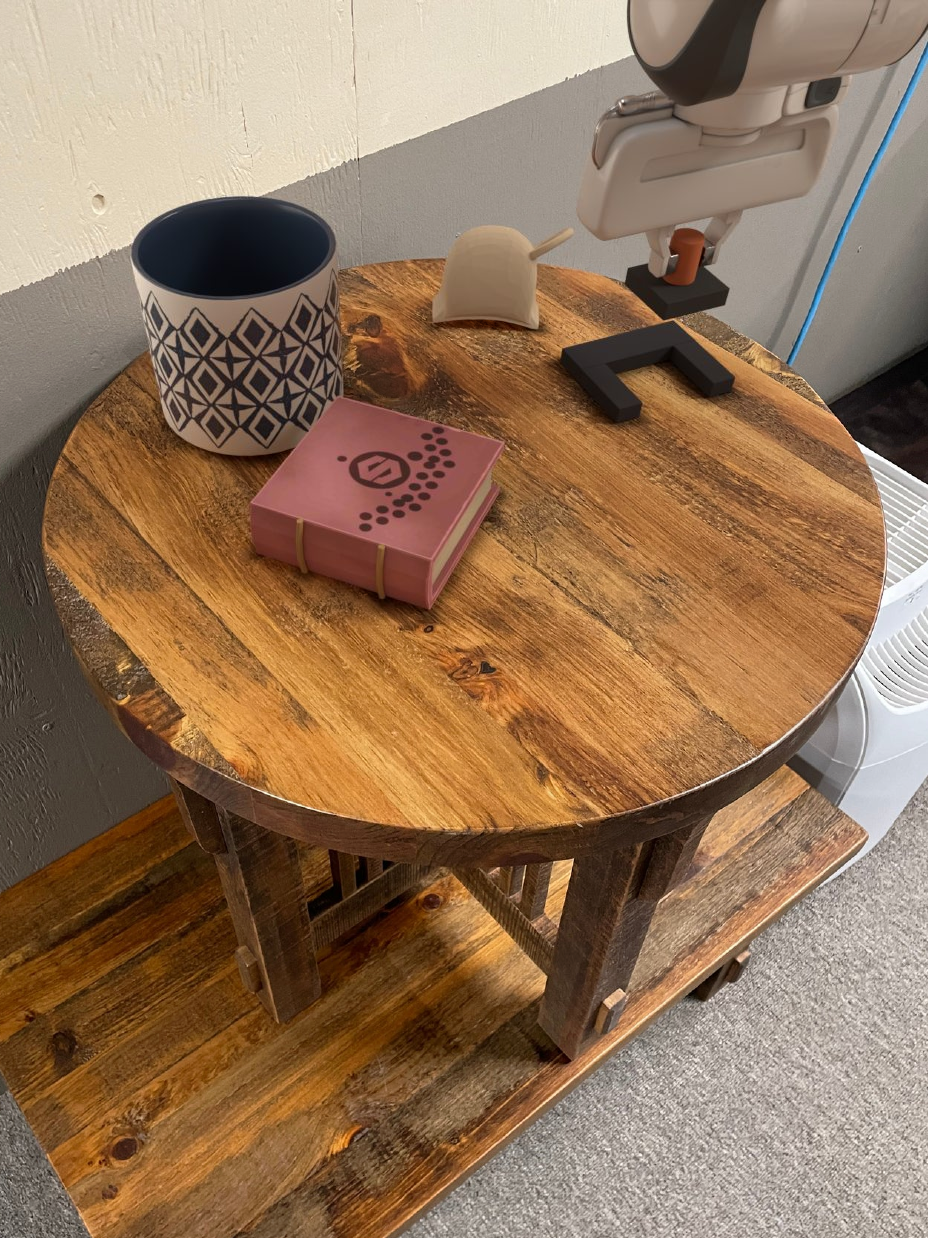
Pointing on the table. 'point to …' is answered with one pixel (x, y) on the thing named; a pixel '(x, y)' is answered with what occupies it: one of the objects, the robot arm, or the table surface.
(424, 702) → the table surface
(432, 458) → the book
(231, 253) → the planter
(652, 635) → the table surface
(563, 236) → the decorative ornament
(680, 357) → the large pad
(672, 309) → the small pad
